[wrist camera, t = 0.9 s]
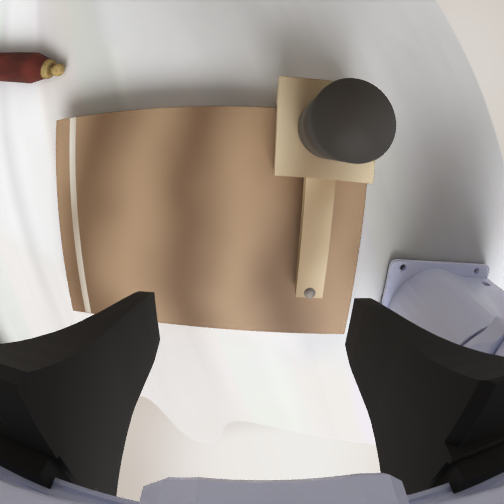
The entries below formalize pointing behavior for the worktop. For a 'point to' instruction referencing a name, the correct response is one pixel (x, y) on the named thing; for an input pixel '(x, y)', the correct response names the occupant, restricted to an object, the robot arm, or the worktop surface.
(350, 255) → the board
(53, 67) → the gavel
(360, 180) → the rubber stamp
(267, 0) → the worktop surface
